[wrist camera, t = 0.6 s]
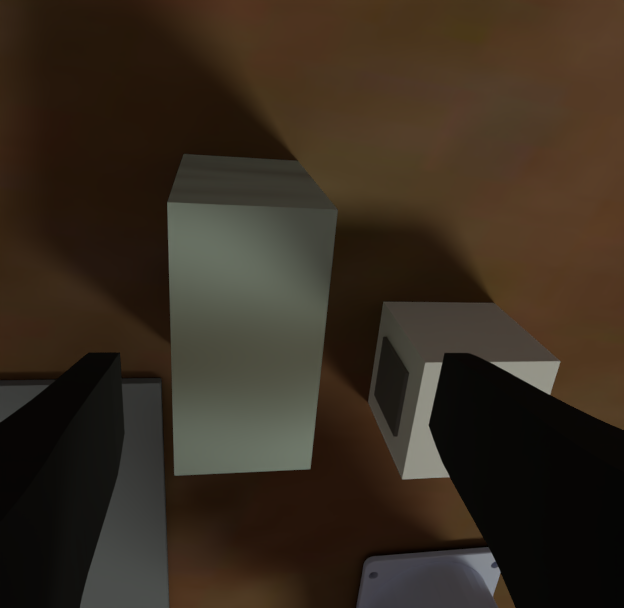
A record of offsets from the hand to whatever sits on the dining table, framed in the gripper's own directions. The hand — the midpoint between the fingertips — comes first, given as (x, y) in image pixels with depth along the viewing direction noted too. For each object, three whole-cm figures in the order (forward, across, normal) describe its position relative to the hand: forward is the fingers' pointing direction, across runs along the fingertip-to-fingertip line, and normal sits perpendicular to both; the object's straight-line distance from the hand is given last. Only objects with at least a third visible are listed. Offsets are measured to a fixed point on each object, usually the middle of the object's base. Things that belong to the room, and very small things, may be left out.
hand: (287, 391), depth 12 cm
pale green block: (+10, +1, 0) cm, 10 cm away
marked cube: (+10, -8, +4) cm, 13 cm away
